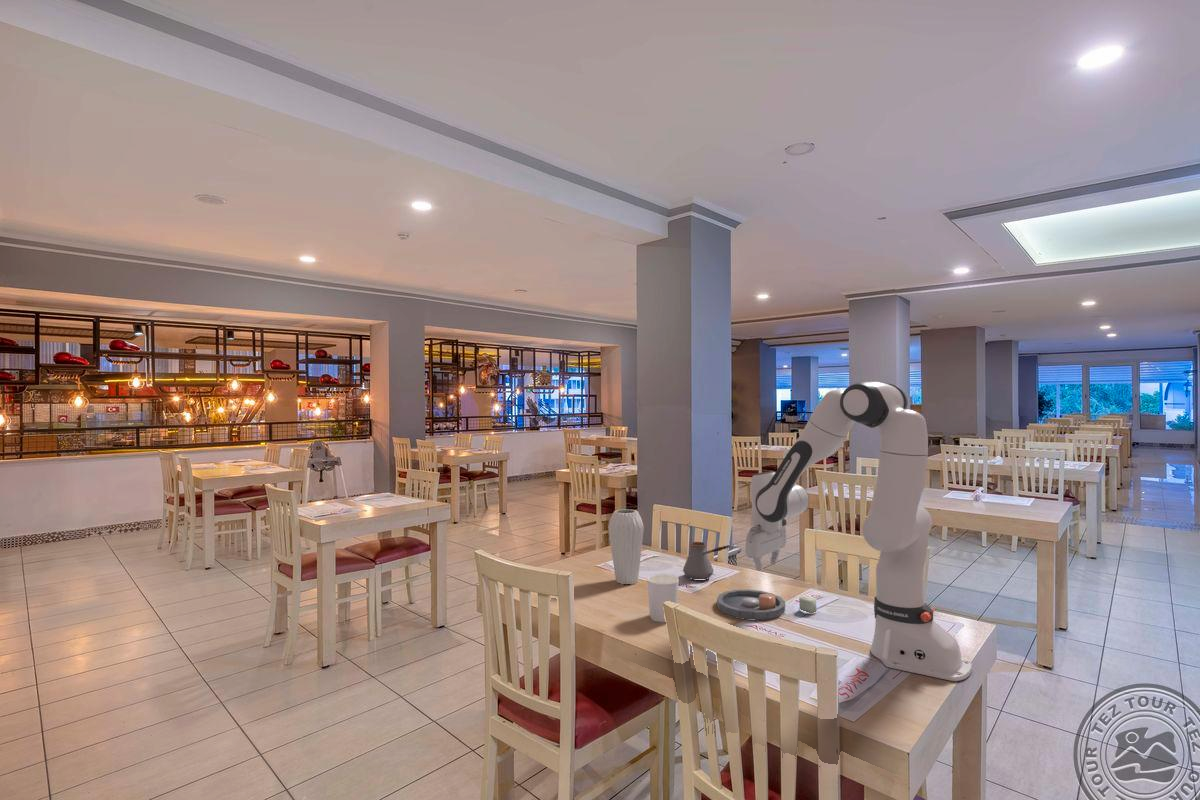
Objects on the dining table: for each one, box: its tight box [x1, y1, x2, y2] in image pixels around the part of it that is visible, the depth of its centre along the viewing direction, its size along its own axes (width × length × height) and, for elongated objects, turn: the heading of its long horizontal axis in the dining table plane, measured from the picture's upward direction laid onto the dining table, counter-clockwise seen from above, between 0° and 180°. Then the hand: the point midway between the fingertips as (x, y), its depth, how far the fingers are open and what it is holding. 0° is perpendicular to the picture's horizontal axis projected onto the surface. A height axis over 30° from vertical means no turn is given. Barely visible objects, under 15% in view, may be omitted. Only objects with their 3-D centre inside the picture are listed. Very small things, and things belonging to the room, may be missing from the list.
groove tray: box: [716, 588, 786, 621], centre depth 182 cm, size 21×21×2 cm
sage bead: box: [798, 596, 817, 613], centre depth 178 cm, size 5×5×4 cm
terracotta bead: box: [759, 594, 775, 610], centre depth 178 cm, size 5×5×4 cm
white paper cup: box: [646, 573, 680, 623], centre depth 176 cm, size 10×10×12 cm
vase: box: [607, 508, 644, 585], centre depth 212 cm, size 13×13×26 cm
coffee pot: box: [682, 541, 733, 580], centre depth 211 cm, size 21×12×15 cm, turn 38°
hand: (766, 566), depth 178 cm, fingers open, 8 cm apart
